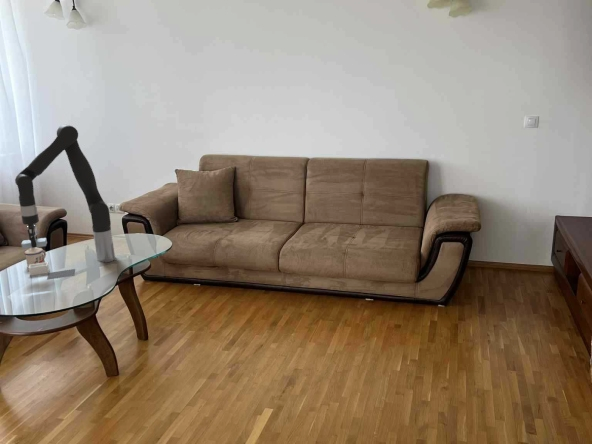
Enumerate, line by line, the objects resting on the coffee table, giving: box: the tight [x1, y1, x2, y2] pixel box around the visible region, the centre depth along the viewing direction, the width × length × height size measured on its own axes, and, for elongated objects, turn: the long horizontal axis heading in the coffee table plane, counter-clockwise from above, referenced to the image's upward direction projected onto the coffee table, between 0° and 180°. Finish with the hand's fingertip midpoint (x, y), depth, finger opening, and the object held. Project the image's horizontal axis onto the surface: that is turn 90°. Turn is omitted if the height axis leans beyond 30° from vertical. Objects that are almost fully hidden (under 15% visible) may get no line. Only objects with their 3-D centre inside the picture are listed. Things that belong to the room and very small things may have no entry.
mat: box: [46, 268, 76, 280], centre depth 285 cm, size 13×10×1 cm
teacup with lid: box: [24, 247, 47, 268], centre depth 299 cm, size 12×9×12 cm
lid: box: [21, 237, 48, 250], centre depth 283 cm, size 11×6×3 cm, turn 110°
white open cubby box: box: [27, 261, 51, 276], centre depth 288 cm, size 9×6×5 cm, turn 109°
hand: (34, 245), depth 284 cm, fingers closed on lid, 6 cm apart
